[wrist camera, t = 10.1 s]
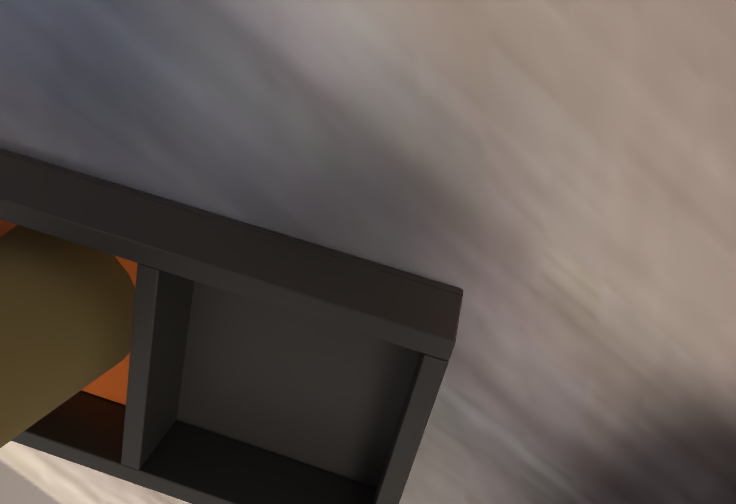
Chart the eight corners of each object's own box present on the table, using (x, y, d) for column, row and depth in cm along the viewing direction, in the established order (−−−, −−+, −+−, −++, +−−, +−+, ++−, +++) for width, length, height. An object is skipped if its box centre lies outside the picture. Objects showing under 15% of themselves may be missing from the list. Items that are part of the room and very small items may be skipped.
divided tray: (-48, 133, 22) (-132, 157, 19) (463, 289, 21) (455, 342, 18) (-36, 353, 26) (-103, 401, 23) (392, 498, 25) (376, 569, 22)
